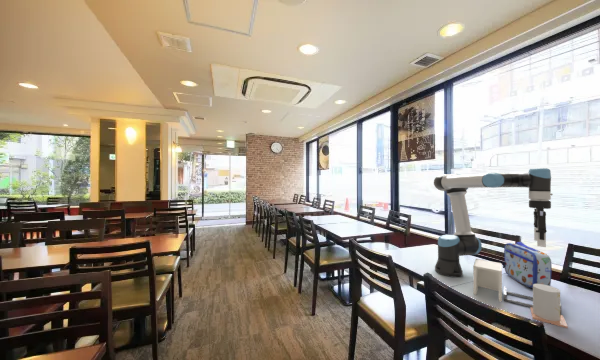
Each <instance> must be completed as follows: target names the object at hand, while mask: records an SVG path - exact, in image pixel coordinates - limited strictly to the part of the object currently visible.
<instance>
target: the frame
mask: <svg viewBox="0 0 600 360" xmlns="http://www.w3.org/2000/svg"><path fill="white" fill-rule="evenodd" d="M507 295H509V296H510V295H511V296H515V297H519V298H523V299H527V300H531V301H533V296H528V295H525V294H521V293H516V292H511V291H508V290H507V286H503V301H504V302H509V303H512V304H517V305H521V306H525V307H528V308H530V307H532V308H533V304H531V303H527V302H523V301H519V300H515V299H510V298H508V297H507ZM560 315H562V305H561V303H560Z"/></svg>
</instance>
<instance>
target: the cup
mask: <svg viewBox="0 0 600 360" xmlns="http://www.w3.org/2000/svg"><path fill="white" fill-rule="evenodd" d="M532 297H533V300H532V305H533V313H534V314H535V315H537V316H539V317H541V318H543V319H547V320H551V321H560V304H561V290H560V289H558V288H557V287H553V286H551V285H550V286H548V285H543V284H533V288H532Z"/></svg>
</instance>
